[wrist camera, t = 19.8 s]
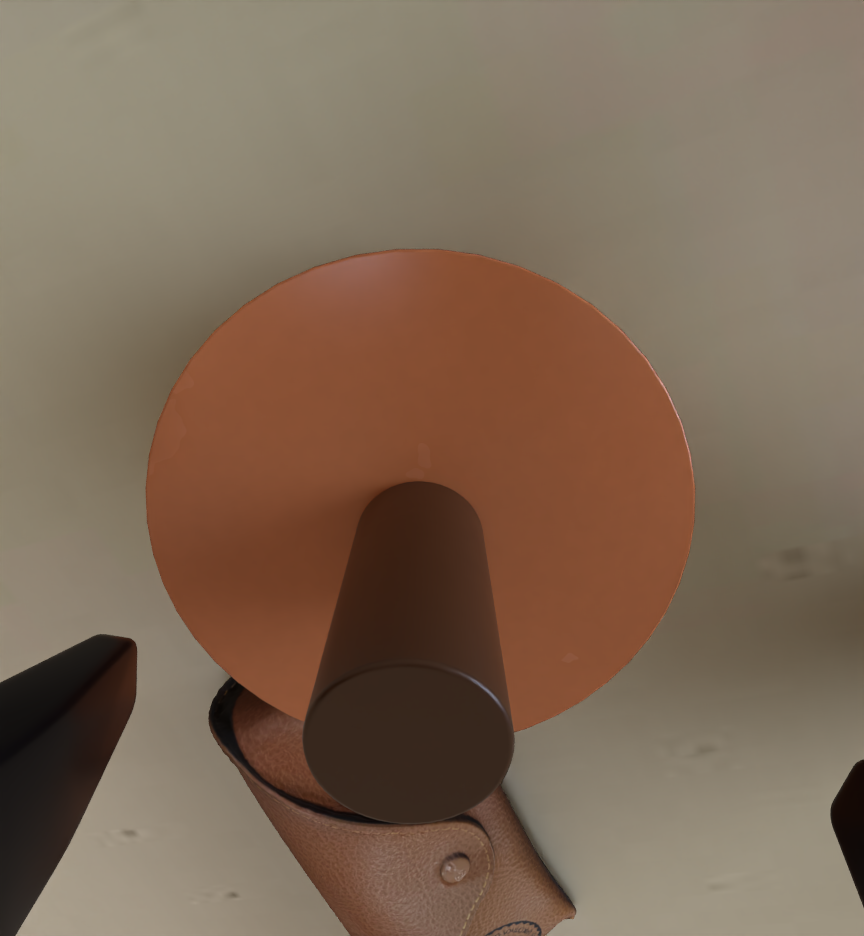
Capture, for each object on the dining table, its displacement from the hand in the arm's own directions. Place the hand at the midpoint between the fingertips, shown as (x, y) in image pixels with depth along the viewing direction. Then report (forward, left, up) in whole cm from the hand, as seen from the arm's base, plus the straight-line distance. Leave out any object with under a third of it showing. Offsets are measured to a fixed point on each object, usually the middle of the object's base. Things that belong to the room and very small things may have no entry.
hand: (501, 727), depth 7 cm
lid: (+1, 0, -6) cm, 6 cm away
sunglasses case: (-2, +16, -13) cm, 21 cm away
